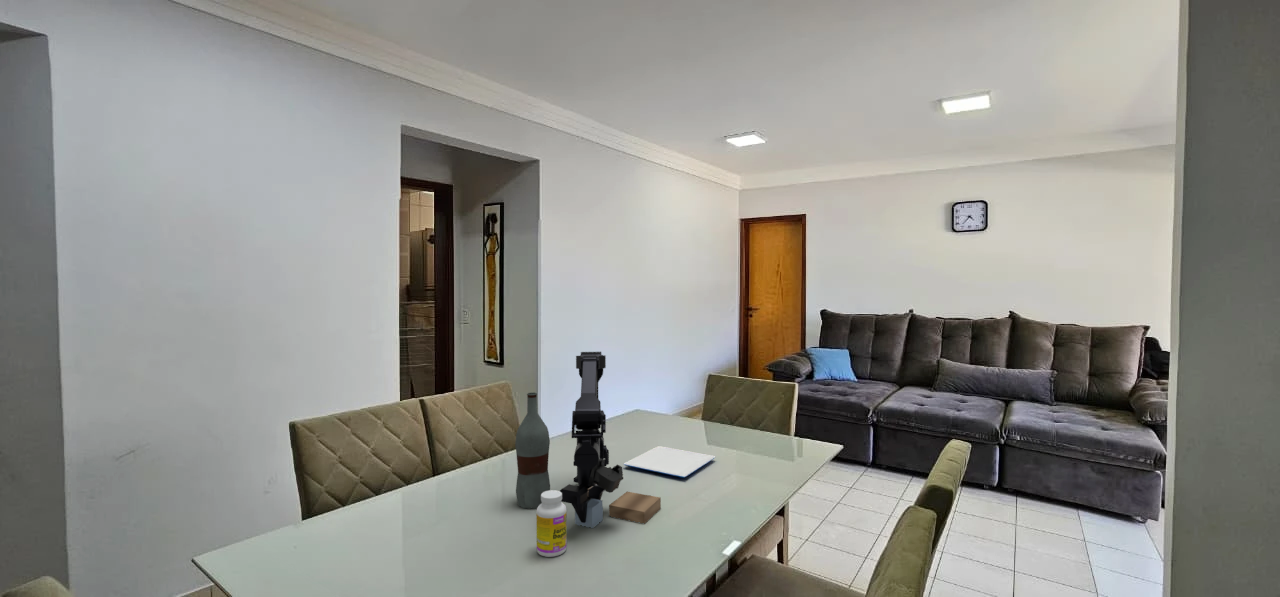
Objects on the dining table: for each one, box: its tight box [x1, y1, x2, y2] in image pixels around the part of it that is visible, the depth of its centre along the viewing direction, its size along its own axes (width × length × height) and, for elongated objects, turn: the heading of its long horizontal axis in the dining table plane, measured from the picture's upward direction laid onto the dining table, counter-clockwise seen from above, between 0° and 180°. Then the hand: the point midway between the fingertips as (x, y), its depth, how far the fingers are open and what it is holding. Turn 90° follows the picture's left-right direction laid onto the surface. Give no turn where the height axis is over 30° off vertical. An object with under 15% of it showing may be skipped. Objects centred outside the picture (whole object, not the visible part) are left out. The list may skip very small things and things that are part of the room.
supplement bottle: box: [535, 489, 568, 558], centre depth 123 cm, size 7×7×13 cm
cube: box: [574, 499, 604, 529], centre depth 137 cm, size 5×5×5 cm
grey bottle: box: [514, 391, 551, 509], centre depth 149 cm, size 9×9×30 cm
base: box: [608, 491, 662, 525], centre depth 143 cm, size 10×10×3 cm
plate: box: [623, 445, 716, 478], centre depth 180 cm, size 22×22×2 cm
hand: (588, 518), depth 137 cm, fingers closed on cube, 5 cm apart
